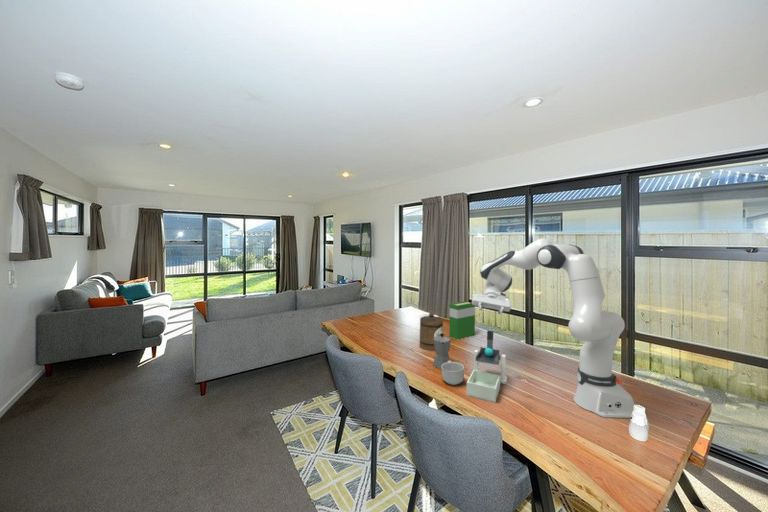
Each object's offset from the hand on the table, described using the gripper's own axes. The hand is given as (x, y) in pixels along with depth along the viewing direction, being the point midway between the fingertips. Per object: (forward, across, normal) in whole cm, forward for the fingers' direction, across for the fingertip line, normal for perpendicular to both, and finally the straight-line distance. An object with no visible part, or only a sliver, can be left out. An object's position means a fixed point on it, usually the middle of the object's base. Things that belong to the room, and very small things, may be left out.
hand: (490, 311), depth 156 cm
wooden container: (-7, -31, +42) cm, 52 cm away
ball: (+20, +2, +10) cm, 22 cm away
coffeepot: (+17, -20, +30) cm, 40 cm away
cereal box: (-32, -13, +50) cm, 61 cm away
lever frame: (+23, +4, +24) cm, 33 cm away
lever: (+23, +3, +16) cm, 28 cm away
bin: (+36, +2, +19) cm, 41 cm away
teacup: (+32, -13, +23) cm, 41 cm away
